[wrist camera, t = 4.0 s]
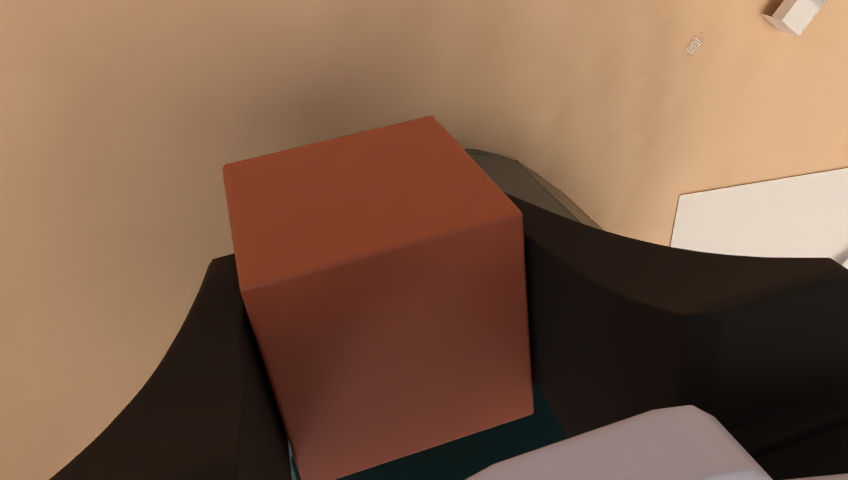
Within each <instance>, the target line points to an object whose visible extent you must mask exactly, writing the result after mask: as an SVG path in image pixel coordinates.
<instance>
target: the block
mask: <svg viewBox="0 0 848 480" xmlns="http://www.w3.org/2000/svg"><path fill="white" fill-rule="evenodd" d="M222 171H223V178H224V184H225V191H226V198H227V205H228V212H229V218H230V225H231V232H232V239H233V246H234V253H235V259H236V266H237V273H238V280H239V287H240V292H241V295H242V298H243V301H244V304H245V307H246V310H247V314H248V317H249V320H250V323H251V326H252V329H253V332H254V335H255V338H256V341H257V344H258V348H259V351H260V354H261V357H262V360H263V363H264V366H265V369H266V372H267V375H268V378H269V382H270V385H271V388H272V391H273V394H274V397H275V400H276V403H277V406H278V409H279V412H280V416H281V419H282V422H283V425H284V428H285V431H286V434H287V437H288V440H289V443H290V446H291V450H292V453H293V456H294V459H295V462H296V465H297V468H298V471H299V474H300V477H301V480H335V479H338V478H341V477H344V476H347V475H350V474H353V473H356V472H359V471H362V470H365V469H368V468H371V467H374V466H377V465H380V464H383V463H386V462H389V461H392V460H395V459H398V458H402V457H405V456H408V455H411V454H414V453H417V452H420V451H423V450H426V449H429V448H432V447H435V446H438V445H441V444H444V443H447V442H450V441H453V440H456V439H459V438H462V437H465V436H468V435H471V434H474V433H477V432H480V431H483V430H486V429H489V428H492V427H495V426H498V425H501V424H504V423H507V422H510V421H513V420H516V419H519V418H522V417H525V416H528V415H531V414H533V412H534V407H533V389H532V372H531V355H530V337H529V320H528V302H527V285H526V268H525V250H524V233H523V215H522V212H521V211H520V210H519V209H518V208H517V206H516V205H515V204H514V203H513V202H512V201H511V200H510V199H509V198H508V197H507V196H506V195H505V194H504V192H503V191H502V190H501V189H500V188H499V187H498V186H497V185H496V184H495V183H494V182H493V181H492V179H491V178H490V177H489V176H488V175H487V174H486V173H485V172H484V171H483V170H482V169H481V168H480V167H479V165H478V164H477V163H476V162H475V161H474V160H473V159H472V158H471V157H470V156H469V155H468V154H467V153H466V151H465V150H464V149H463V148H462V147H461V146H460V145H459V144H458V143H457V142H456V141H455V140H454V138H453V137H452V136H451V135H450V134H449V133H448V132H447V131H446V130H445V129H444V128H443V127H442V126H441V124H440V123H439V122H438V121H437V120H436V119H435V118H434V117H433V116H428V117H424V118H420V119H416V120H411V121H407V122H403V123H399V124H395V125H390V126H386V127H382V128H378V129H373V130H369V131H365V132H361V133H356V134H352V135H348V136H344V137H340V138H335V139H331V140H327V141H323V142H318V143H314V144H310V145H306V146H301V147H297V148H293V149H289V150H285V151H280V152H276V153H272V154H268V155H263V156H259V157H255V158H251V159H246V160H242V161H238V162H234V163H230V164H225V165H224V166H223V168H222Z"/></svg>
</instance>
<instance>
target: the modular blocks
mask: <svg viewBox="0 0 848 480" xmlns="http://www.w3.org/2000/svg"><path fill="white" fill-rule="evenodd" d="M825 2H826V0H784V1H783V2H782V3H781V5H780V6H779V7H778V9H777V10H776V11H775V13H774V14H773V15H772V17H771V16H768V15H765V14H762V13H761V15H762V16H764V17H765V18H766V19H767V20H768V21H769V22H770V23H771V24H772V25H773V26H774V27H775V28H776V29H778V30H781V31H784V32H787V33H790V34H793V35H796V36H799V35H800V34H801V33H802V32H803V30H804V29H805V28H806V26H807V25H808V24H809V22H810V21H811V20H812V19H813V17H814V16H815V15H816V13H817V12H818V11H819V9H820V8H821V7H822V6H823V4H824V3H825ZM701 33H702V32H701ZM705 36H706V35H705ZM695 37H696V36H695ZM696 38H697V39H699V38H698V37H696ZM693 39H695V38H693ZM695 40H696V39H695ZM699 40H700V39H699ZM692 41H693V42H695V41H694V40H692ZM696 41H697V40H696ZM700 41H701V40H700ZM697 42H699V41H697ZM701 42H703V41H701ZM691 43H692V42H691ZM695 43H696V42H695ZM699 43H700V42H699ZM692 44H693V45H695V44H694V43H692ZM696 44H697V43H696ZM700 44H701V43H700ZM689 45H691V44H689ZM697 45H699V44H697ZM691 46H692V45H691ZM695 46H696V45H695ZM699 46H700V45H699ZM688 47H689V48H691V47H690V46H688ZM692 47H693V48H695V47H694V46H692ZM696 47H697V46H696ZM697 48H699V47H697ZM687 49H688V48H687ZM691 49H692V48H691ZM695 49H696V48H695ZM688 50H689V51H691V50H690V49H688ZM692 50H693V49H692ZM696 50H697V49H696ZM686 51H687V50H686ZM693 51H695V50H693ZM687 52H688V51H687ZM691 52H692V51H691ZM695 52H696V51H695ZM688 53H689V54H691V53H690V52H688ZM692 53H693V54H694V52H692ZM682 55H683V54H682ZM691 55H692V54H691ZM692 56H693V55H692ZM687 60H688V59H687Z"/></svg>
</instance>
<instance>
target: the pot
mask: <svg viewBox="0 0 848 480" xmlns="http://www.w3.org/2000/svg"><path fill="white" fill-rule="evenodd" d="M464 150H465V151H466V153H467V154H468V155H469V156H470V157H471V158H472V159H473V160H474V161H475V162H476V163H477V164H478V165H479V167H480V168H481V169H482V170H483V171H484V172H485V173H486V174H487V175H488V176H489V177H490V178H491V179H492V181H493V182H494V183H495V184H496V185H497V186H498V187H499V188H500V189H501V190H502V191H503V192H505V193H508V194H510V195H512V196H515V197H517V198H520V199H522V200H524V201H527V202H529V203H531V204H534V205H536V206H539V207H541V208H543V209H546V210H548V211H551V212H553V213H556V214H558V215H561V216H563V217H566V218H569V219H571V220H574V221H577V222H579V223H582V224H585V225H588V226H591V227H594V228H597V229H600V230H603V229H602V228H601V227H600V226H599V225H598V224H596V223H595V222H594V221H593V220H592V219H591V218H590V217H589V216H588V215H587V214H586V213H585V212H583V211H582V210H581V209H580V208H579V207H578V206H577V205H576V204H575V203H574V202H573V201H572V200H570V199H569V198H568V197H567V196H566V195H565V194H564V193H563V192H561V191H560V190H558V189H557V188H555V187H554V186H552V185H551V184H550V183H548V182H547V181H545V180H544V179H543V178H542V177H540V176H539V175H538V174H537V173H535V172H534V171H532V170H530V169H528V168H527V167H525V166H524V165H522V164H521V163H519V162H518V161H516V160H515V161H514V160H512V159H508V158H505V157H503V156H500V155H497V154H492V153H488V152H483V151H479V150H471V149H464ZM603 231H604V230H603ZM532 389H533V407H534V412H533V414H531V415H528V416H525V417H522V418H519V419H516V420H513V421H510V422H507V423H504V424H501V425H498V426H495V427H492V428H489V429H486V430H483V431H480V432H477V433H474V434H471V435H468V436H465V437H462V438H459V439H456V440H453V441H450V442H447V443H444V444H441V445H438V446H435V447H432V448H429V449H426V450H423V451H420V452H417V453H414V454H411V455H408V456H405V457H402V458H398V459H395V460H392V461H389V462H386V463H383V464H380V465H377V466H374V467H371V468H368V469H365V470H362V471H359V472H356V473H353V474H350V475H347V476H344V477H341V478H338V479H335V480H465V479H467V478H469V477H471V476H473V475H474V474H476V473H478V472H480V471H482V470H484V469H485V468H487V467H489V466H491V465H493V464H495V463H498V462H501V461H504V460H507V459H510V458H513V457H516V456H519V455H522V454H524V453H527V452H530V451H533V450H536V449H539V448H542V447H545V446H548V445H551V444H554V443H557V442H560V441H563V440H565V439H568V437H567V435H566V434H565V432H564V430H563V428H562V426H561V424H560V423H559V421H558V419H557V417H556V415H555V413H554V412H553V410H552V409H551V407H550V406H549V404H548V402H547V401H546V399H545V398H544V396H543V395H542V393H541V392H540V390H539V389H538V388H537V386H536V385H535V383H534V382H533V381H532ZM288 444H289V454H290V465H291V475H292V480H301V477H300V474H299V471H298V468H297V465H296V462H295V459H294V456H293V453H292V450H291V446H290V443H289V440H288Z"/></svg>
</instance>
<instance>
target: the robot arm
mask: <svg viewBox="0 0 848 480" xmlns="http://www.w3.org/2000/svg"><path fill="white" fill-rule="evenodd" d="M504 194H505V195H506V196H507V197H508V198H509V199H510V200H511V201H512V202H513V203H514V204H515V205H516V206H517V208H518V209H519V210H520V211H521V212H522V215H523V233H524V250H525V268H526V285H527V302H528V320H529V337H530V355H531V372H532V381H533V382H534V383H535V385H536V386H537V388H538V389H539V390H540V392H541V393H542V395H543V396H544V398H545V399H546V401H547V402H548V404H549V406H550V407H551V409H552V410H553V412H554V413H555V415H556V417H557V419H558V421H559V423H560V424H561V426H562V428H563V430H564V432H565V434H566V435H567V437H568V439H565V440H563V441H560V442H557V443H554V444H551V445H548V446H545V447H542V448H539V449H536V450H533V451H530V452H527V453H524V454H522V455H519V456H516V457H513V458H510V459H507V460H504V461H501V462H498V463H495V464H493V465H491V466H489V467H487V468H485V469H484V470H482V471H480V472H478V473H476V474H474V475H473V476H471V477H469V478H467V479H465V480H848V269H847V268H845V267H844V266H842V265H841V264H839V263H838V262H836V261H835V260H833V259H831V258H793V257H753V256H739V255H726V254H716V253H707V252H700V251H693V250H687V249H680V248H674V247H668V246H663V245H658V244H653V243H649V242H645V241H640V240H636V239H632V238H628V237H624V236H620V235H617V234H613V233H610V232H606V231H603V230H600V229H597V228H594V227H591V226H588V225H585V224H582V223H579V222H577V221H574V220H571V219H569V218H566V217H563V216H561V215H558V214H556V213H553V212H551V211H548V210H546V209H543V208H541V207H539V206H536V205H534V204H531V203H529V202H527V201H524V200H522V199H520V198H517V197H515V196H512V195H510V194H508V193H505V192H504ZM49 480H292V475H291V465H290V454H289V444H288V437H287V434H286V431H285V428H284V425H283V422H282V419H281V416H280V412H279V409H278V406H277V403H276V400H275V397H274V394H273V391H272V388H271V385H270V382H269V378H268V375H267V372H266V369H265V366H264V363H263V360H262V357H261V354H260V351H259V348H258V344H257V341H256V338H255V335H254V332H253V329H252V326H251V323H250V320H249V317H248V314H247V310H246V307H245V304H244V301H243V298H242V295H241V292H240V287H239V280H238V273H237V266H236V259H235V254H231V255H227V256H223V257H219V258H215V259H213V260H212V262H211V263H210V265H209V266H208V269H207V272H206V274H205V277H204V280H203V282H202V285H201V287H200V289H199V292H198V294H197V296H196V299H195V301H194V303H193V305H192V307H191V309H190V311H189V313H188V315H187V317H186V319H185V321H184V323H183V325H182V327H181V329H180V331H179V332H178V334H177V336H176V338H175V339H174V341H173V343H172V344H171V346H170V348H169V349H168V351H167V353H166V355H165V356H164V358H163V359H162V361H161V362H160V364H159V365H158V367H157V368H156V370H155V371H154V373H153V374H152V376H151V377H150V378H149V380H148V381H147V382H146V384H145V385H144V386H143V388H142V389H141V390H140V391H139V392H138V394H137V395H136V396H135V397H134V398H133V399H132V401H131V402H130V403H129V404H128V405H127V406H126V407H125V408H124V409H123V410H122V412H121V413H120V414H119V415H118V416H117V417H116V418H115V419H114V420H113V421H112V423H111V424H110V425H109V426H108V427H107V428H106V429H105V430H104V431H103V432H102V433H101V434H100V435H99V436H98V437H97V438H96V439H95V440H94V441H93V442H92V443H91V444H90V445H88V446H87V447H86V448H85V449H84V450H83V451H82V452H81V453H80V454H79V455H77V456H76V457H75V458H74V459H73V460H72V461H71V462H70V463H68V464H67V465H66V466H65V467H64V468H63V469H61V470H60V471H59V472H58V473H57V474H55V475H54V476H53V477H52V478H51V479H49Z"/></svg>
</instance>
